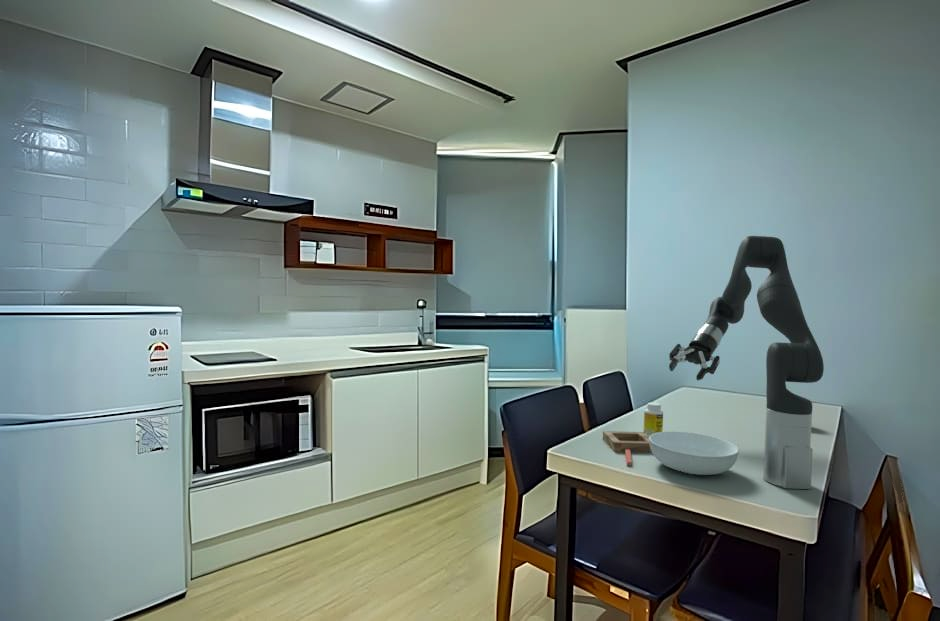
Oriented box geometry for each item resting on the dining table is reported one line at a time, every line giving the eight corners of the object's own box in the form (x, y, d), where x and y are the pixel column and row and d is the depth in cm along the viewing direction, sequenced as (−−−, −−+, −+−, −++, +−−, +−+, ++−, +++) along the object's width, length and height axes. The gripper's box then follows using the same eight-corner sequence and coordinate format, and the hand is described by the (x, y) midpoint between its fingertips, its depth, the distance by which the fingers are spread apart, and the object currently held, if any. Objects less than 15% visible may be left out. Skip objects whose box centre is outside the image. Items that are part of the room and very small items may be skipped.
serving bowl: (646, 475, 124) (647, 447, 124) (649, 452, 143) (650, 427, 143) (742, 490, 116) (744, 460, 116) (732, 462, 136) (733, 437, 135)
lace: (631, 466, 130) (631, 462, 130) (626, 465, 130) (626, 461, 130) (629, 452, 142) (629, 449, 142) (625, 452, 142) (625, 448, 142)
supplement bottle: (657, 439, 156) (658, 406, 155) (640, 435, 160) (641, 403, 159) (665, 436, 160) (666, 404, 159) (648, 432, 164) (649, 401, 163)
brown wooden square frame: (656, 452, 143) (657, 443, 143) (613, 451, 143) (614, 442, 142) (642, 440, 155) (642, 432, 155) (602, 439, 155) (603, 431, 154)
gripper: (684, 326, 171) (661, 358, 163) (728, 339, 161) (707, 373, 154) (685, 342, 175) (663, 374, 168) (728, 355, 166) (707, 389, 158)
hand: (684, 373), depth 161 cm, fingers open, 8 cm apart
